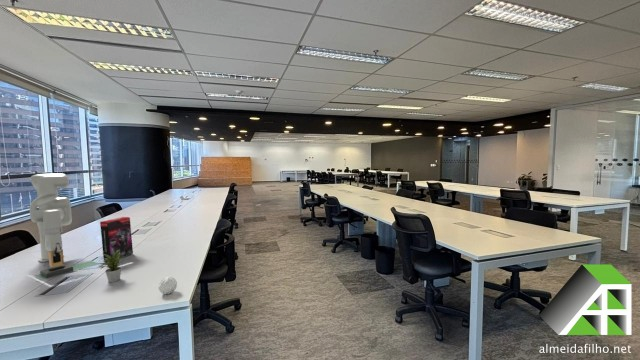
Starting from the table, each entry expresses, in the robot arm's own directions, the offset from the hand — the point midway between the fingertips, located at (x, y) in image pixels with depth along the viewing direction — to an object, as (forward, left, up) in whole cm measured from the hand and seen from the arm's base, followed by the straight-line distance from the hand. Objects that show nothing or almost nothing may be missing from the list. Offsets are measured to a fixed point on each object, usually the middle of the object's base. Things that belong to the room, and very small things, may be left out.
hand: (55, 261), depth 158 cm
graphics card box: (0, +32, -8) cm, 33 cm away
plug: (0, 0, -3) cm, 3 cm away
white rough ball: (+83, +16, -8) cm, 85 cm away
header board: (-1, +6, -8) cm, 10 cm away
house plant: (+39, +12, -8) cm, 42 cm away
